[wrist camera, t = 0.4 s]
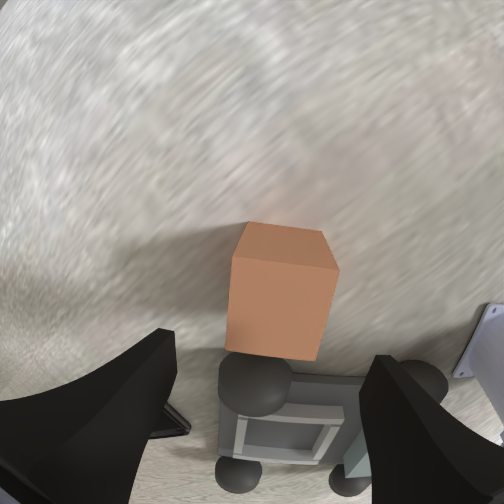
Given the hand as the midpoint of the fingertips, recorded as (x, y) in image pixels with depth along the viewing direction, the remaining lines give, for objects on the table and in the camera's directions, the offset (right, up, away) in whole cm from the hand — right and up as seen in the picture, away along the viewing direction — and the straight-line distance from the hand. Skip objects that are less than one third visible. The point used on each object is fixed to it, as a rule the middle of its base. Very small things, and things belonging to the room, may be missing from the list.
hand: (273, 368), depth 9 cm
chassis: (+5, -12, +14) cm, 19 cm away
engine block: (+1, +3, +9) cm, 9 cm away
